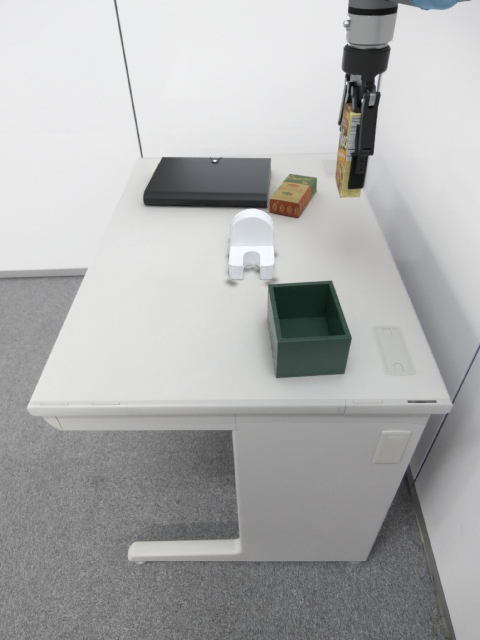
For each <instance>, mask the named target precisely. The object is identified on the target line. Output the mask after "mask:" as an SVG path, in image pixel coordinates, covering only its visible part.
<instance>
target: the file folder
mask: <svg viewBox="0 0 480 640" xmlns="http://www.w3.org/2000/svg"><path fill="white" fill-rule="evenodd" d="M271 171H272V158H271V157H222V156H220V157H211V156H210V157H208V156H207V157H205V156H204V157H201V156H200V157H198V156H194V157H193V156H192V157H191V156H190V157H189V156H162V157H161V158H160V161H159V162H158V164H157V166H156V168H155V170H154V172H153V174H152V175H151V177H150V179H149V181H148V183H147V185H146V187H145V189H144V191H143V195H142V201H143V204H144V205H157V206H159V205H160V206H161V205H164V206H165V205H166V206H207V207H209V206H211V207H215V206H216V207H254V208H255V207H257V208H258V207H259V208H260V207H262V208H264V207H265V208H267V207H268V205H269V195H270V194H269V192H270V183H271V173H272V172H271Z"/></svg>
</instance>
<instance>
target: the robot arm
mask: <svg viewBox="0 0 480 640" xmlns="http://www.w3.org/2000/svg"><path fill="white" fill-rule="evenodd" d="M463 2H471V0H348V4H347V16H346V17H347V19H346V20H344V21H343V22H342V27H343V28H345V35H344V41H345V42H346V43H347V44H345V45H344V47H343V49H342V58H341V65H340V67H341V70H342V72H343V73H345V74H344V86H343V90H342V97H341V102H340V109H339V113H338V114H339V115H338V119H337V126H338V127H339V133H341V126H342V118H343V110H344V102H345V101H346V104H347V103H352V111H353V112H354V113H361V119H360V125H358V124H357V127H356V134H355V151H354V152H352V153H350V155H351V156H352V159H351V166H350V174H349V181H348V189H361V190H362V189H364V183H365V178H366V171H367V166H368V159H369V157H371V156H374V153H375V143H376V133H377V123H378V112H379V105H380V101H381V96H382V95H381V91H377V86H376V77H377V76H378V75H382V74H384V73H386V72H387V70H388V67H389V63H390V62H389V61H390V56H391V55H390V54H391V50H392V48H391V46H390V44H391V42H393V39H394V34H395V29H396V23H397V19H398V18H397V17H398V11H399V4H400V5H405V6H410V7H413V8H419V9H420V10H423V11H430V10H431V11H432V10H435V11H444V10H446V11H447V10H449V9H451V8H453V7H454V6H456V5H457V4H458V3H463ZM338 138H339V139H338V143H339V142H340V137H338ZM338 150H339V146H338V149H337V151H338ZM337 158H338V154H337V156H336V159H337ZM336 166H337V163H336V164H335V167H336Z"/></svg>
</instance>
